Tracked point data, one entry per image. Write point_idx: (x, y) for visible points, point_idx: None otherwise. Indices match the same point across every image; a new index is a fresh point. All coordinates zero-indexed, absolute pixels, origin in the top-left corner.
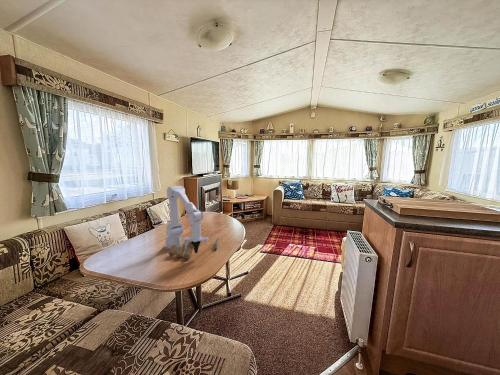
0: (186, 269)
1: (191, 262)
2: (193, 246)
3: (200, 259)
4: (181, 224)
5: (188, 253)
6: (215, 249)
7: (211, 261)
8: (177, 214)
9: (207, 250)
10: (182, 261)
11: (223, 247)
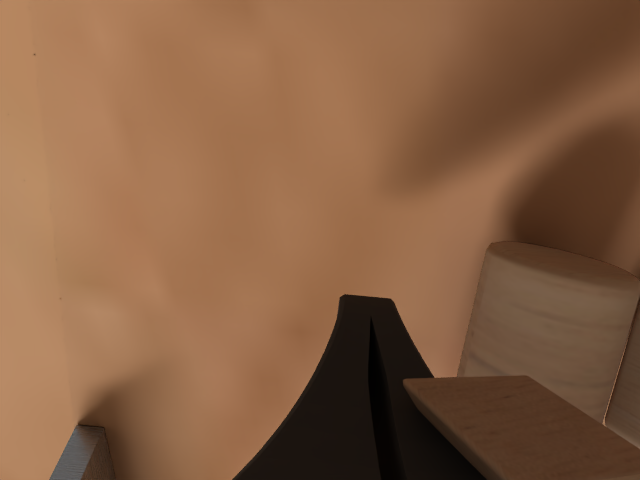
0: None
1: (450, 110)
2: (462, 423)
3: (280, 204)
4: None
5: (543, 304)
6: (88, 439)
7: (42, 105)
8: None
9: (216, 436)
10: (628, 168)
11: (7, 476)
